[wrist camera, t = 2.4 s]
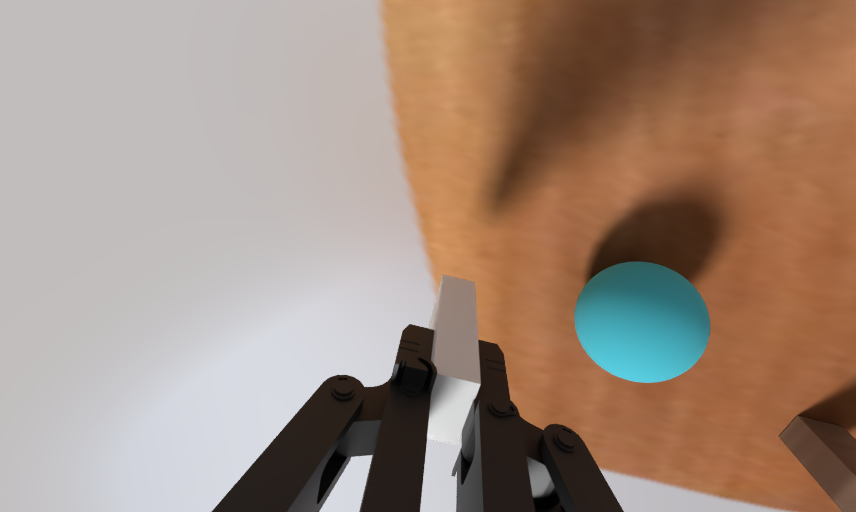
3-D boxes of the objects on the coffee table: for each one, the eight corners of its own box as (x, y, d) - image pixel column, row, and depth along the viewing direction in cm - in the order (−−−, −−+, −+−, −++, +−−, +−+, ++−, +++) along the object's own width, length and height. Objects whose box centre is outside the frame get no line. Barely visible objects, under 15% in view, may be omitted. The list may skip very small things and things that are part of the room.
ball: (587, 231, 21) (628, 285, 16) (693, 257, 22) (770, 320, 16) (548, 320, 24) (572, 393, 19) (643, 343, 24) (694, 422, 19)
